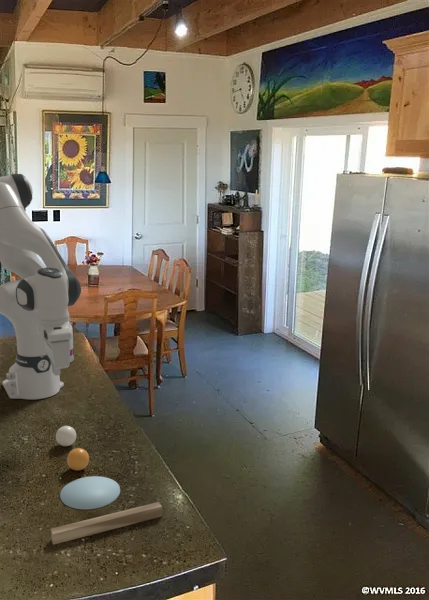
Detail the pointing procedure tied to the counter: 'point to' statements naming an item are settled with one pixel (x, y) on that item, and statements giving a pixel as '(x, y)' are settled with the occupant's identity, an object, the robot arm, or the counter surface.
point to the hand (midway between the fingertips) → (56, 373)
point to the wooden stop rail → (105, 523)
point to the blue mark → (90, 492)
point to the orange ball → (78, 459)
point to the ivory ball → (66, 436)
